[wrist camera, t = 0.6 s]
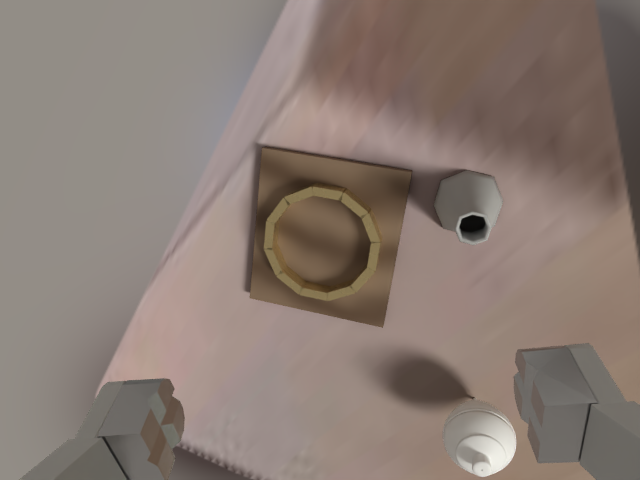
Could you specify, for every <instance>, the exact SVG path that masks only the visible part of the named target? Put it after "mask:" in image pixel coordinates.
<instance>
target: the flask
mask: <svg viewBox="0 0 640 480" xmlns="http://www.w3.org/2000/svg"><path fill="white" fill-rule="evenodd" d="M502 204H503V199H502V196H501V194H500V191H499V189H498V186H497V183H496V181H495V178H494V177H493V176H489V175H485V174H481V173H476V172H472V171H468V170H466V171H464V172H461V173H459V174H456V175H454V176H451V177H449V178H446V179H443V180H441V182H440V186H439V189H438V193H437V196H436V199H435V203H434V207H435V210H436V212H437V214H438V217H439V219H440V222H441V224H442V227H443V229H447V230H451V231H455V232H456V234H457V236H458V238H459V241H460V242H463V243H467V244H471V245H475V244H478V243H481V242H484V241H487V240H488V237H489V234H490V231H491V228H492V227H494V226H495V224H496V221H497V218H498V215H499V212H500V210H501V207H502Z"/></svg>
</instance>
